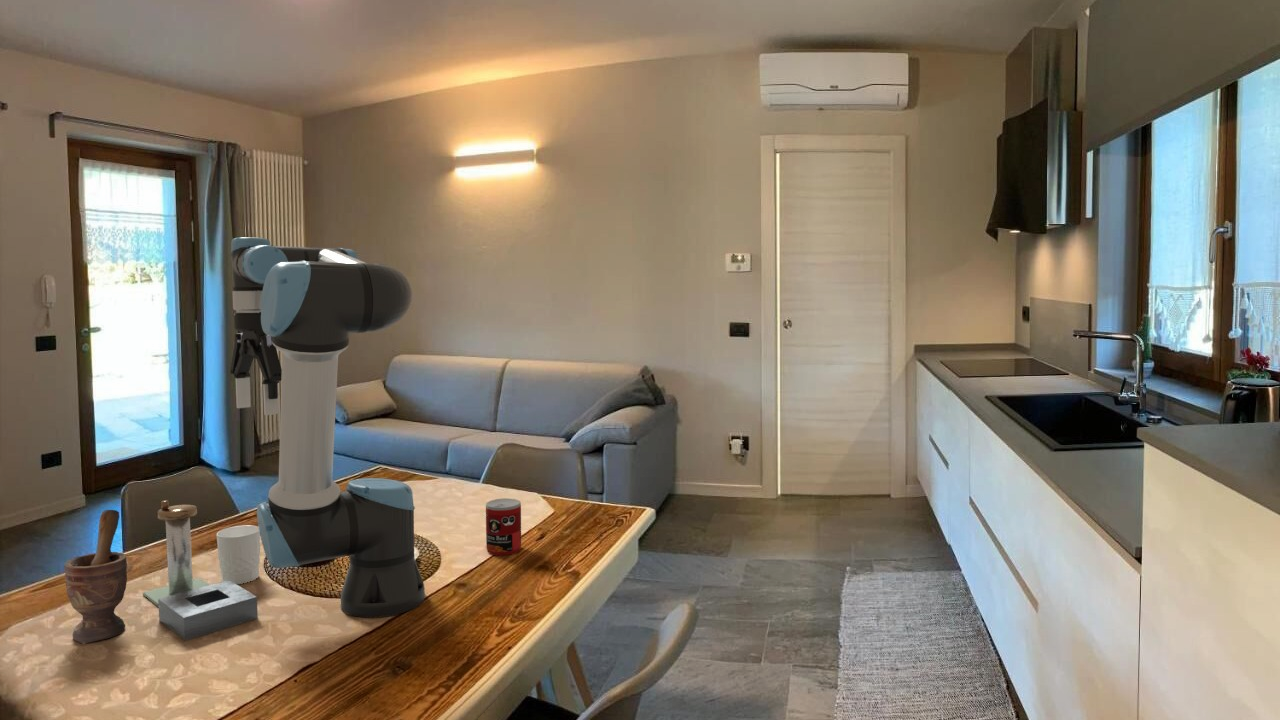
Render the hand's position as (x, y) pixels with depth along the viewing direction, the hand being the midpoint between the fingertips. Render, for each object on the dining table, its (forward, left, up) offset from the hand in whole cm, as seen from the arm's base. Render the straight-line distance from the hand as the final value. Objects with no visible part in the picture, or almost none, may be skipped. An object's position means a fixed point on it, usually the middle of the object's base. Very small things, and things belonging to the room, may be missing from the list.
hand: (257, 411), depth 167 cm
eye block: (-24, +20, -33) cm, 45 cm away
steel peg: (-8, +19, -32) cm, 38 cm away
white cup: (-8, +8, -33) cm, 35 cm away
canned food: (-34, -39, -33) cm, 61 cm away
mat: (-8, +19, -33) cm, 39 cm away
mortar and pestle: (-15, +34, -33) cm, 50 cm away
